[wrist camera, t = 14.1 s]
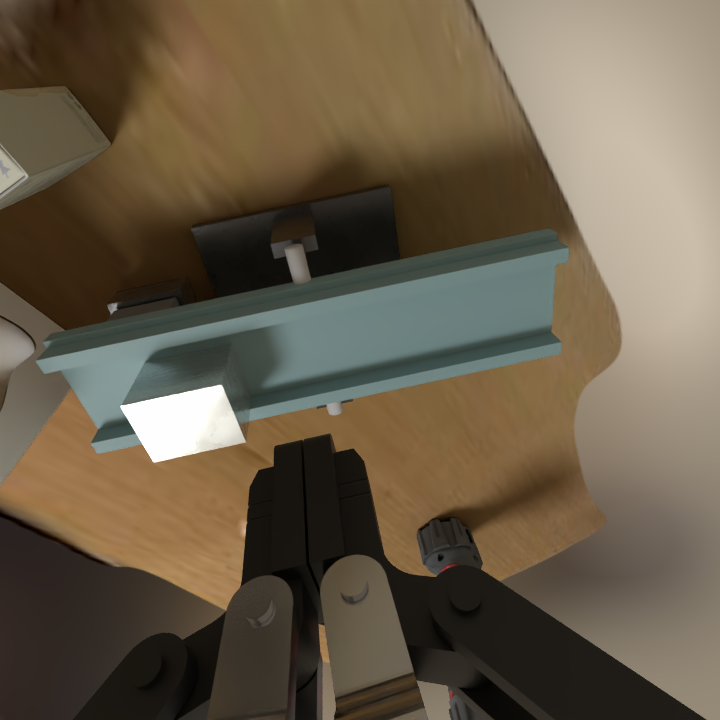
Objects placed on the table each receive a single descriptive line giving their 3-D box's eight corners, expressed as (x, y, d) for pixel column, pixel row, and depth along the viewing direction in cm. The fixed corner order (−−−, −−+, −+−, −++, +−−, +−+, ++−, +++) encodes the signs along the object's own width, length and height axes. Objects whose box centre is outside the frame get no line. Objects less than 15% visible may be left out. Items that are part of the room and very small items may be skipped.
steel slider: (144, 361, 30) (120, 406, 26) (231, 343, 30) (221, 384, 26) (171, 413, 33) (153, 462, 29) (252, 396, 33) (245, 442, 29)
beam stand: (94, 245, 36) (48, 283, 29) (388, 184, 36) (410, 206, 29) (168, 394, 44) (146, 450, 37) (409, 342, 44) (430, 389, 37)
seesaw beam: (71, 269, 34) (8, 321, 26) (512, 177, 34) (572, 202, 27) (147, 409, 41) (115, 480, 34) (511, 331, 41) (558, 384, 34)
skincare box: (66, 83, 30) (-51, 82, 20) (115, 147, 33) (33, 175, 22) (-4, 134, 31) (-151, 157, 21) (48, 192, 33) (-60, 239, 23)
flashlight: (393, 532, 59) (443, 750, 40) (442, 502, 57) (519, 716, 38) (425, 556, 63) (485, 768, 43) (472, 529, 61) (557, 737, 41)
